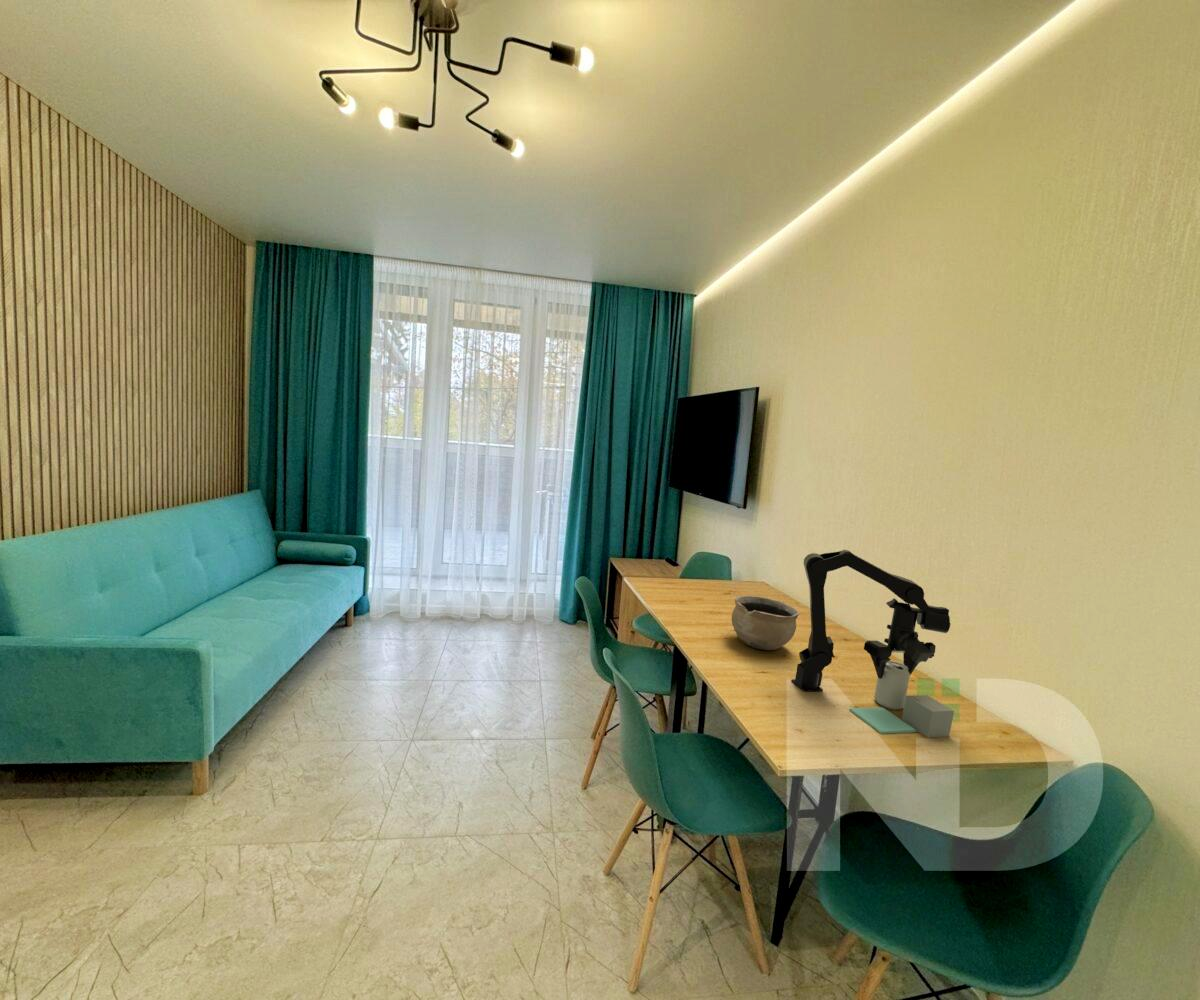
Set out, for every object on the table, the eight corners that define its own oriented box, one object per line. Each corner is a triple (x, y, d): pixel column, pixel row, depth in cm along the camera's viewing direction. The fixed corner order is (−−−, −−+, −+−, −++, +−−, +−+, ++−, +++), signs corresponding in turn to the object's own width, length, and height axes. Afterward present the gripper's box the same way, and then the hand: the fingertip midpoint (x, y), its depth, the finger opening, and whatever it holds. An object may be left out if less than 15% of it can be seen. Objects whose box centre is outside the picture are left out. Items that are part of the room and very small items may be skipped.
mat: (880, 733, 127) (881, 731, 127) (849, 710, 138) (849, 708, 138) (915, 732, 130) (916, 729, 130) (882, 709, 141) (882, 707, 141)
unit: (927, 737, 128) (932, 710, 127) (901, 720, 136) (906, 694, 135) (950, 736, 130) (955, 710, 129) (923, 719, 138) (928, 694, 137)
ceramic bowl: (715, 634, 185) (721, 594, 183) (761, 631, 194) (767, 593, 193) (758, 661, 165) (765, 616, 163) (806, 656, 174) (813, 613, 173)
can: (903, 714, 139) (911, 673, 138) (872, 704, 143) (880, 664, 142) (903, 704, 146) (911, 664, 144) (874, 695, 150) (881, 656, 148)
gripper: (899, 636, 132) (888, 692, 133) (955, 637, 137) (944, 691, 138) (867, 620, 142) (857, 673, 144) (920, 621, 147) (910, 672, 149)
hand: (892, 678), depth 144 cm, fingers open, 9 cm apart
